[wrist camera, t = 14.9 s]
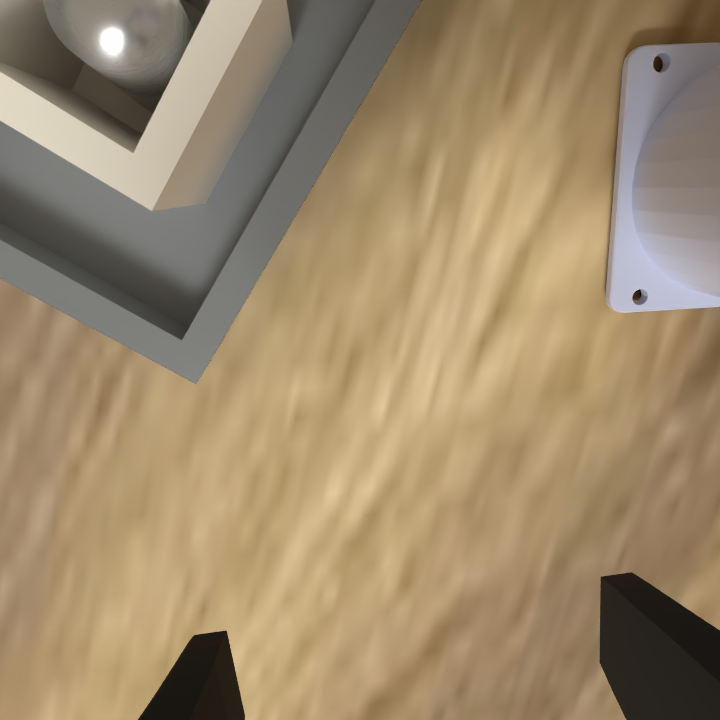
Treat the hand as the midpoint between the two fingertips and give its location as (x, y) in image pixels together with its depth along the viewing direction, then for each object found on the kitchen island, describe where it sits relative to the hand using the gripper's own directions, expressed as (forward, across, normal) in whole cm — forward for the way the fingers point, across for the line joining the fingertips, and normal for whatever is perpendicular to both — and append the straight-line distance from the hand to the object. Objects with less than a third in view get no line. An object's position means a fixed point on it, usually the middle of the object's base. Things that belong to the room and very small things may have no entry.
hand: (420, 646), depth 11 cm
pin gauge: (+9, +4, -12) cm, 16 cm away
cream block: (+10, +5, -12) cm, 16 cm away
